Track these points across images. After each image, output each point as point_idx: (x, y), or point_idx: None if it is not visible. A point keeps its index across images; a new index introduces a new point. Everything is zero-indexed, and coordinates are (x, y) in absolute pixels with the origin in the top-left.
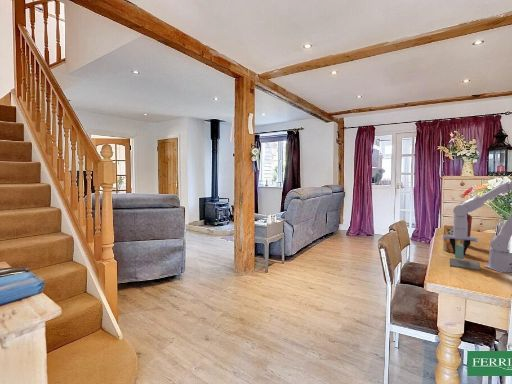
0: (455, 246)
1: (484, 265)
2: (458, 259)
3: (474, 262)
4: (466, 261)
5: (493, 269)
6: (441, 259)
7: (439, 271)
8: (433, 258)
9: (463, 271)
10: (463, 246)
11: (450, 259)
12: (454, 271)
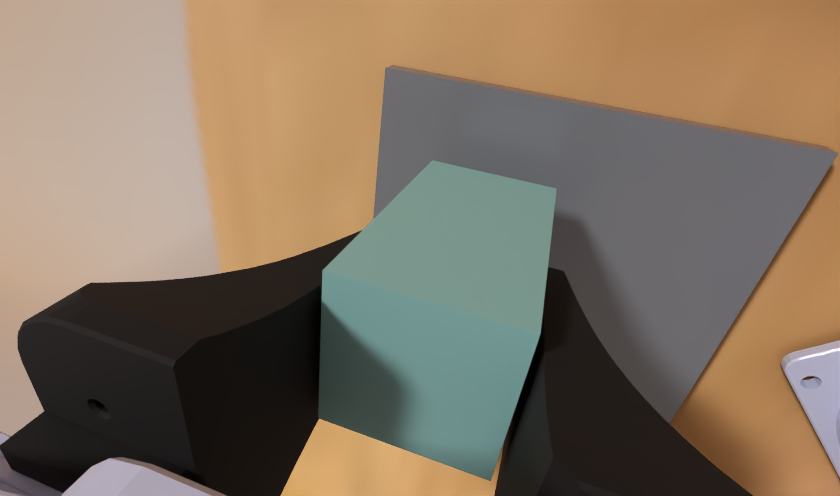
0: (327, 406)
1: (796, 361)
2: (502, 126)
3: (715, 239)
4: (596, 213)
5: (831, 461)
6: (290, 139)
7: (292, 489)
8: (205, 122)
9: (454, 490)
10: (488, 463)
11: (385, 168)
12: (386, 490)
